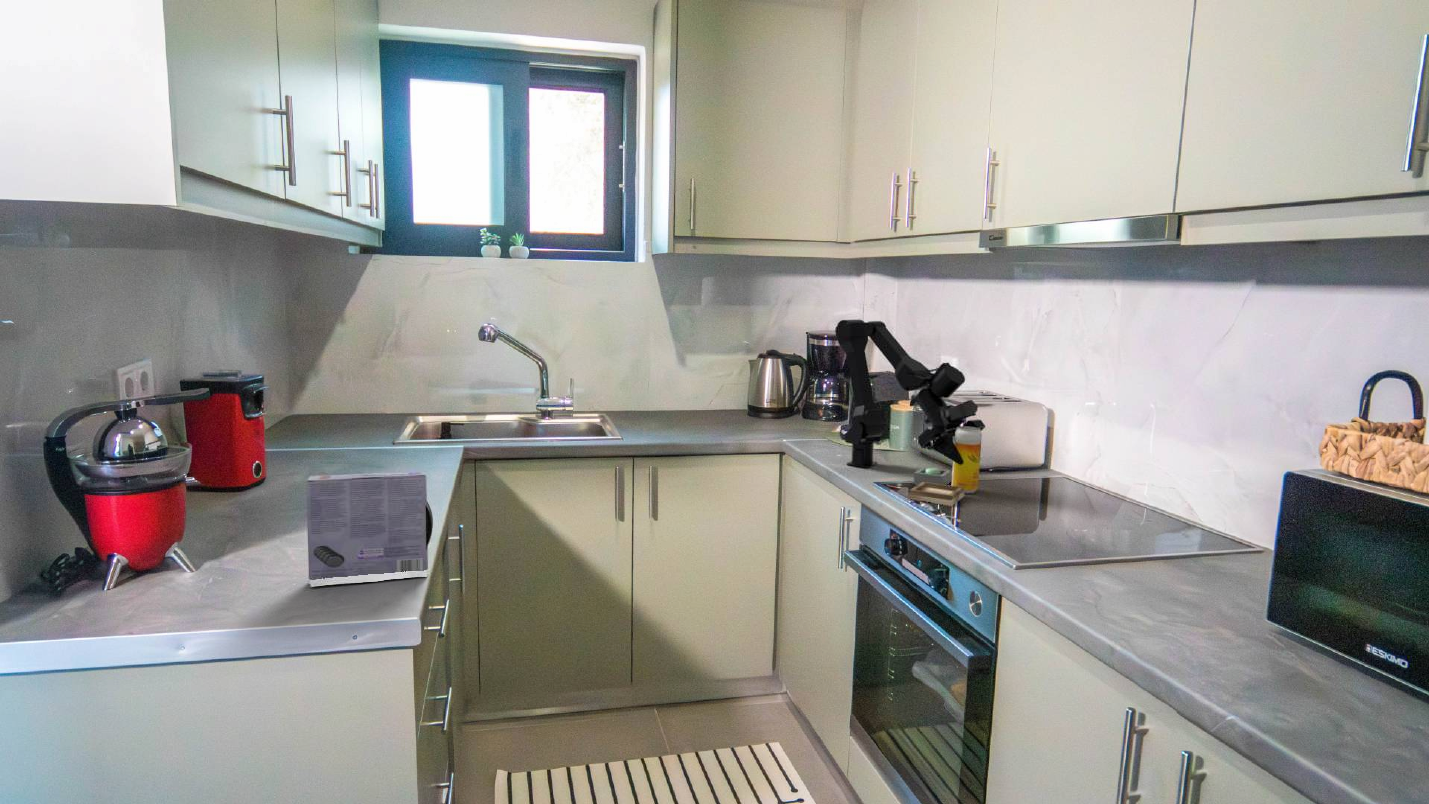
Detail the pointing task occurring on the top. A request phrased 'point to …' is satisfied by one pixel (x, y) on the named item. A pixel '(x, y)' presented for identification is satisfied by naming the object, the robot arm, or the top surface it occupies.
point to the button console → (932, 477)
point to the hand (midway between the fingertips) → (970, 462)
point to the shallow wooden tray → (936, 493)
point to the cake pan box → (367, 524)
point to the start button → (933, 471)
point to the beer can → (967, 458)
